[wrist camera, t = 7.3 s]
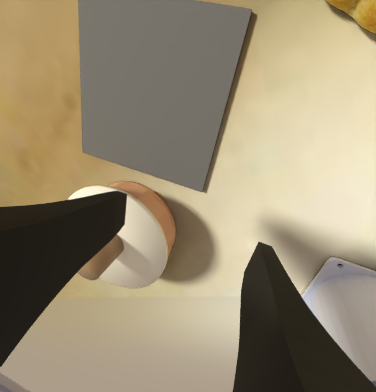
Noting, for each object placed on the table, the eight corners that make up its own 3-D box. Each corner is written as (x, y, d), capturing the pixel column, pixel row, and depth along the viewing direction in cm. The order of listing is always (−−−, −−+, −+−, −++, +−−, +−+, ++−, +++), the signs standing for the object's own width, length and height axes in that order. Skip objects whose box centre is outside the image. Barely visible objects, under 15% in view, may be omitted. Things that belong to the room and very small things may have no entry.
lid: (177, 208, 17) (156, 235, 14) (159, 299, 23) (141, 335, 19) (62, 169, 20) (17, 183, 16) (70, 260, 25) (39, 286, 21)
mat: (252, 11, 14) (251, 9, 14) (202, 190, 20) (201, 192, 20) (81, -15, 16) (77, -18, 16) (85, 151, 23) (82, 152, 22)
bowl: (184, 199, 21) (170, 217, 18) (167, 271, 26) (154, 296, 23) (97, 169, 23) (68, 180, 20) (96, 241, 28) (74, 260, 25)
